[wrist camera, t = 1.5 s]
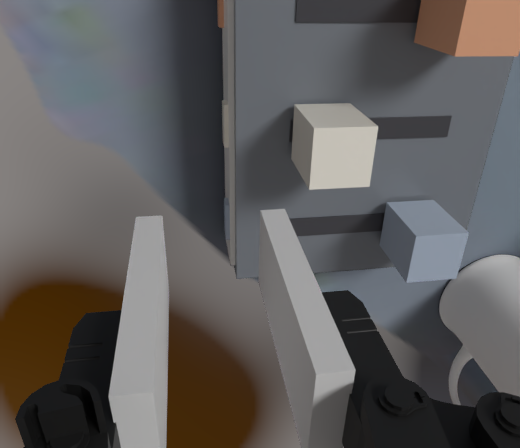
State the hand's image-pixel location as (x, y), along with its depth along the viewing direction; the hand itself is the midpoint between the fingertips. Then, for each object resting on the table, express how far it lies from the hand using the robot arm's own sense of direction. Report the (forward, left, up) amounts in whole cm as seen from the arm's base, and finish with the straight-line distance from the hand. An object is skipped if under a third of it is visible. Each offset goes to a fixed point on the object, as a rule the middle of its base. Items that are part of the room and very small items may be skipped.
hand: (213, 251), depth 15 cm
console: (0, +10, -17) cm, 19 cm away
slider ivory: (0, +6, -11) cm, 13 cm away
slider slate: (+6, +12, -11) cm, 18 cm away
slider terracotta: (-6, +12, -11) cm, 18 cm away
